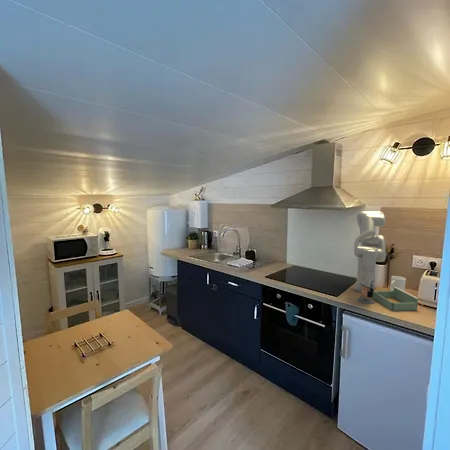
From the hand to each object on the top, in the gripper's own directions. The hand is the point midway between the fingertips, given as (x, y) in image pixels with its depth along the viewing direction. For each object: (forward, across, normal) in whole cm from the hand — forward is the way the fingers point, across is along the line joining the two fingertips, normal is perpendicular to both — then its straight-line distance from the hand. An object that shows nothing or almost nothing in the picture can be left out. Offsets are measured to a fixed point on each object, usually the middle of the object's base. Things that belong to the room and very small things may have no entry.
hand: (366, 294), depth 172 cm
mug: (+4, -13, +30) cm, 33 cm away
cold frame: (+4, +5, +15) cm, 16 cm away
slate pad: (+4, 0, 0) cm, 4 cm away
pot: (+1, 0, 0) cm, 1 cm away
